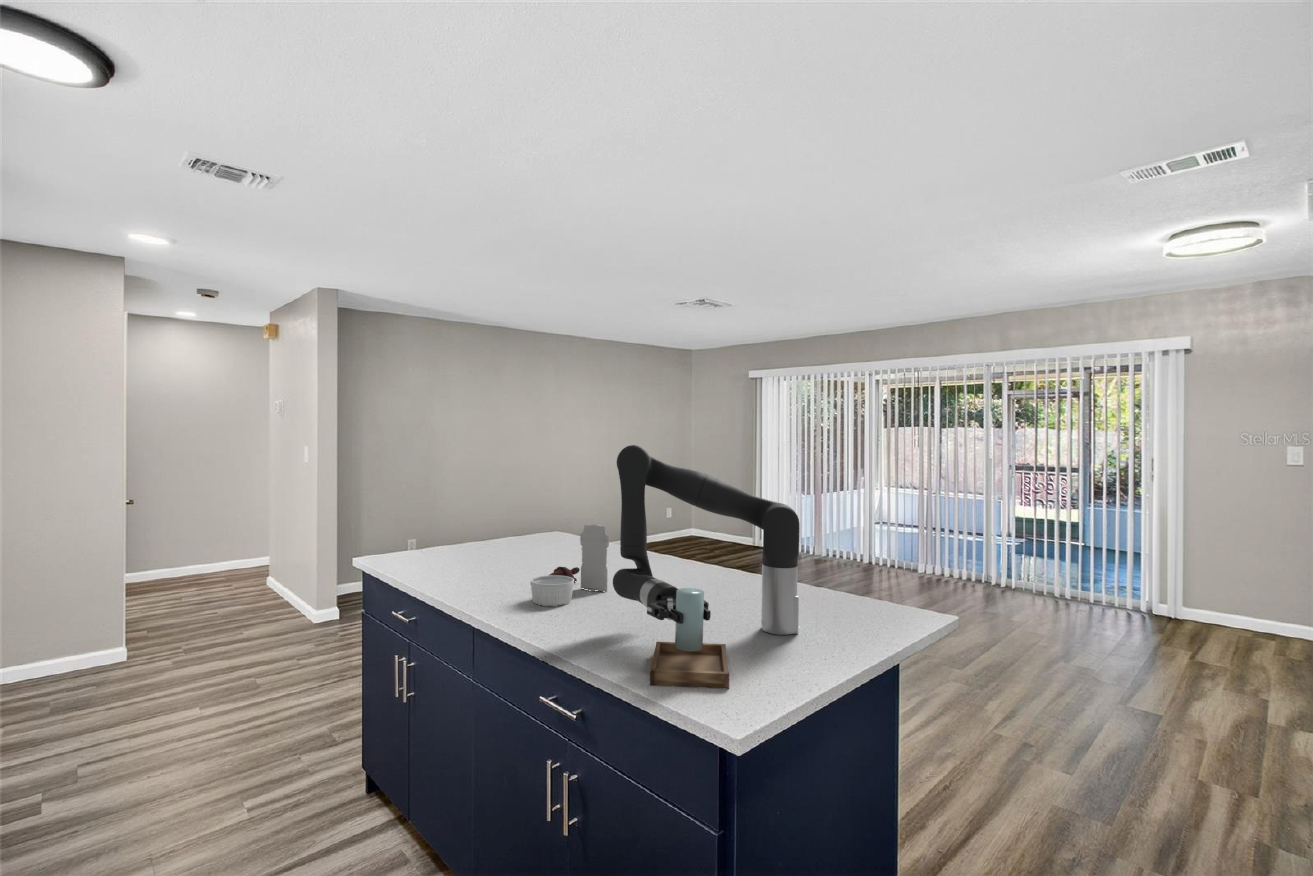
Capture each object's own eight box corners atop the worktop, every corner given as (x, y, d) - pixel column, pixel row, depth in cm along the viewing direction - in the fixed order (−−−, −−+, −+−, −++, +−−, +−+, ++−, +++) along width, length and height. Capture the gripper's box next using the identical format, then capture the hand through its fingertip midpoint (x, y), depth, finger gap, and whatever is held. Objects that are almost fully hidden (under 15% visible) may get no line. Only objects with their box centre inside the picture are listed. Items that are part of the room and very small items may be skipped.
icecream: (553, 573, 197) (587, 570, 209) (540, 564, 202) (573, 561, 213) (548, 593, 198) (582, 589, 209) (535, 583, 203) (568, 580, 214)
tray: (725, 657, 140) (725, 644, 140) (729, 688, 122) (729, 674, 122) (656, 654, 141) (656, 641, 141) (649, 685, 123) (650, 670, 123)
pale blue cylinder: (694, 640, 136) (695, 587, 136) (707, 649, 130) (709, 593, 130) (670, 643, 133) (671, 589, 133) (683, 653, 128) (684, 596, 128)
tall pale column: (611, 590, 201) (611, 523, 201) (605, 593, 197) (606, 525, 197) (582, 587, 205) (583, 522, 205) (576, 590, 201) (577, 523, 201)
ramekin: (558, 594, 195) (559, 572, 195) (582, 603, 185) (582, 580, 185) (522, 601, 186) (522, 578, 186) (545, 610, 176) (545, 586, 176)
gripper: (633, 584, 141) (665, 603, 126) (687, 579, 148) (724, 596, 133) (632, 616, 141) (664, 639, 126) (686, 610, 148) (723, 631, 133)
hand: (695, 617), depth 130 cm, fingers closed on pale blue cylinder, 6 cm apart
